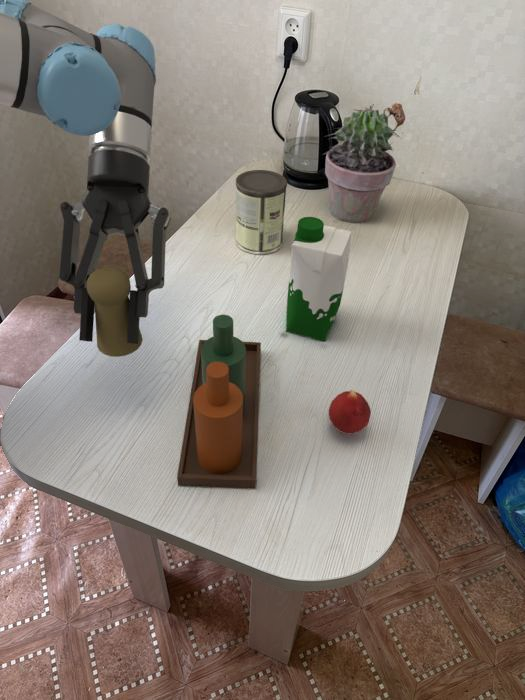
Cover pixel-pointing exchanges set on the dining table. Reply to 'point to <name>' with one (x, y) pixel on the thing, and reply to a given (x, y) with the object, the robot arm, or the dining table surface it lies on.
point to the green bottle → (225, 352)
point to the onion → (349, 412)
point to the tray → (247, 468)
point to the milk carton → (316, 277)
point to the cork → (111, 311)
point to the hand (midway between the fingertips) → (109, 341)
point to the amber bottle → (218, 421)
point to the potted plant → (361, 163)
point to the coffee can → (260, 211)
